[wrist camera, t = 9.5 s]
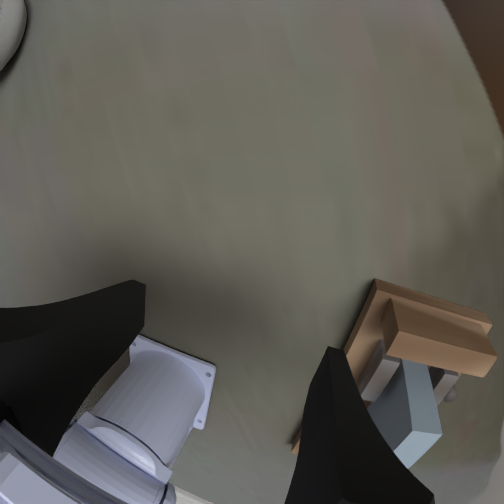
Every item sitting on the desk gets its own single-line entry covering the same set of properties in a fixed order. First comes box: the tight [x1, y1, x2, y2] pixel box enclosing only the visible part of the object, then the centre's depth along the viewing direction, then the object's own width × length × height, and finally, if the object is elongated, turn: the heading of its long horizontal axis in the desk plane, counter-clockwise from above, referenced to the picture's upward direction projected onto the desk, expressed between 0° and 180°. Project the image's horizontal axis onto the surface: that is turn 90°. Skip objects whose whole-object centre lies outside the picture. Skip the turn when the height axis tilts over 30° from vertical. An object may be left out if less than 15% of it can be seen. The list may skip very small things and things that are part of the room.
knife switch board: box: [291, 279, 498, 455], centre depth 20 cm, size 18×9×5 cm, turn 168°
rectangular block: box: [367, 358, 442, 469], centre depth 18 cm, size 10×3×6 cm, turn 168°
